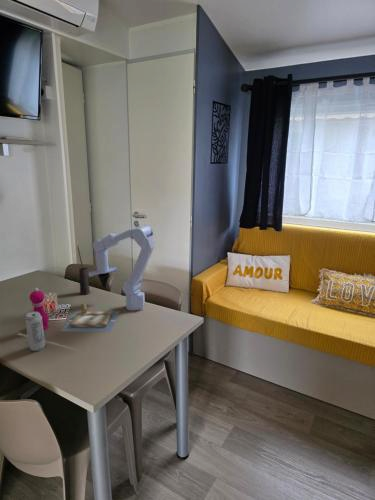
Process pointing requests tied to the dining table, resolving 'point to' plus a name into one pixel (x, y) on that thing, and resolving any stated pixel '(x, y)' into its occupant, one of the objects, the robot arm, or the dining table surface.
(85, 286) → the butter churn
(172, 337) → the dining table surface
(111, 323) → the board
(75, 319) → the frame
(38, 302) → the pepper mill
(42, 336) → the energy drink can
